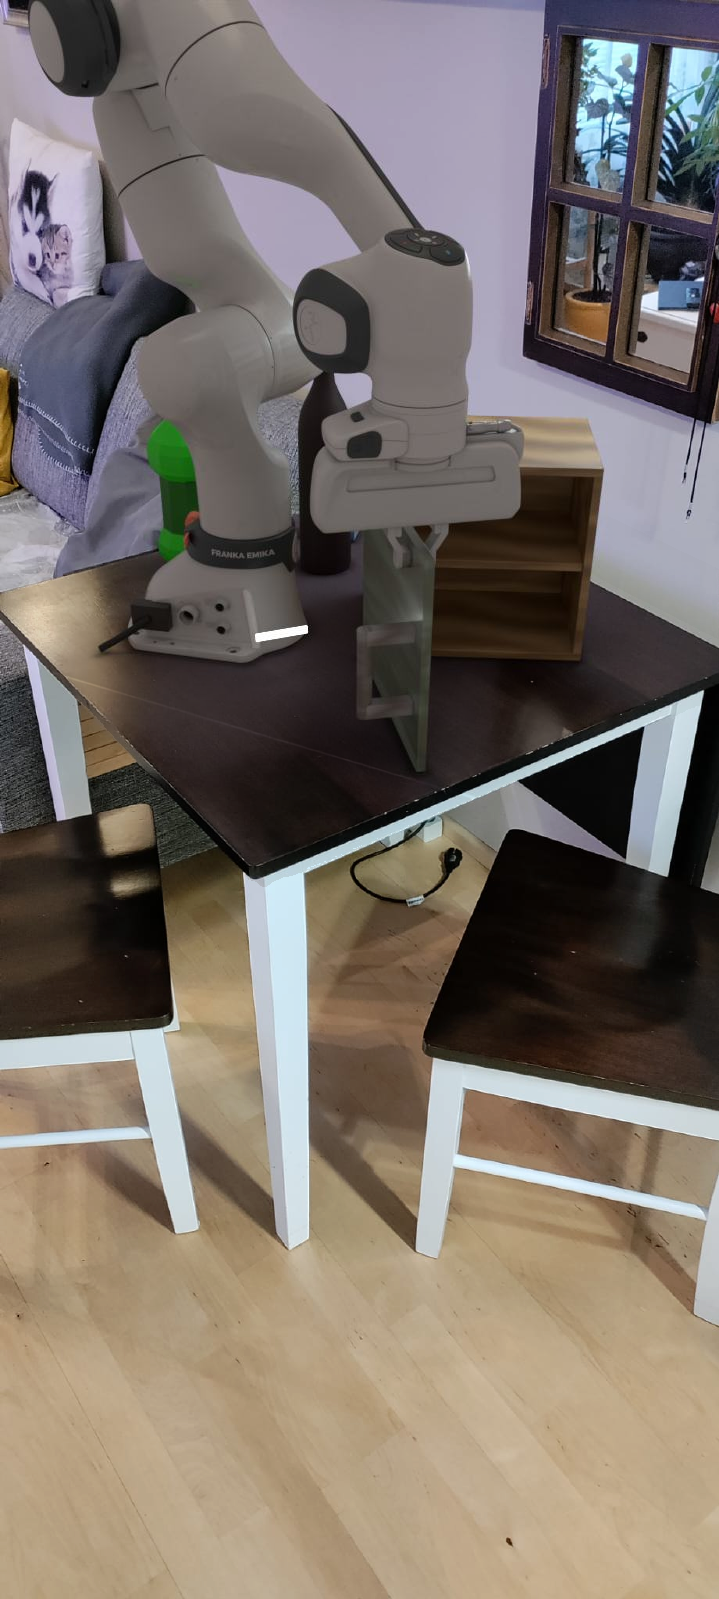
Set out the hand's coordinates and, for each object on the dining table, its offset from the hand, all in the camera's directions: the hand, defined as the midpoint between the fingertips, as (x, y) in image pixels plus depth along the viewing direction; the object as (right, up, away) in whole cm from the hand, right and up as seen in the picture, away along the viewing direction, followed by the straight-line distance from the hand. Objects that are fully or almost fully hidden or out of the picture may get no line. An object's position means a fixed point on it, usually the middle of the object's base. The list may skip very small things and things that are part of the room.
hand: (413, 565), depth 120 cm
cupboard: (+9, -1, +36) cm, 37 cm away
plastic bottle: (-28, +9, +50) cm, 58 cm away
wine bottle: (-10, +10, +51) cm, 53 cm away
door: (-5, -13, +17) cm, 22 cm away
